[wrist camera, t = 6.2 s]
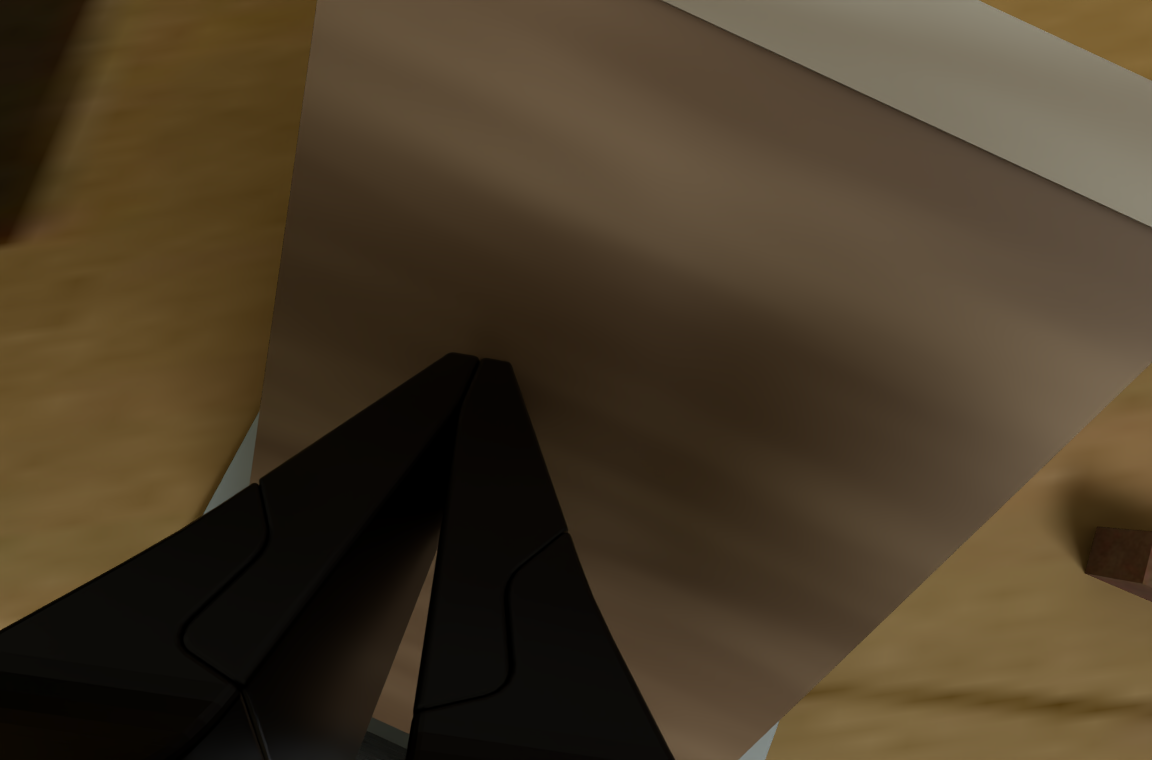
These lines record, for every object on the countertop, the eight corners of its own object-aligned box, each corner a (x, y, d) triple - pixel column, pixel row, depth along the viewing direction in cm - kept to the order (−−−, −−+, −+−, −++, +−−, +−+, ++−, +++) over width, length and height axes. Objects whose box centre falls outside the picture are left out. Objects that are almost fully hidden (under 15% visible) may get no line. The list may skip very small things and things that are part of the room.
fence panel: (658, 858, 13) (1384, 189, 5) (210, 654, 13) (323, -304, 5) (663, 790, 14) (1262, 167, 7) (255, 603, 14) (397, -234, 7)
